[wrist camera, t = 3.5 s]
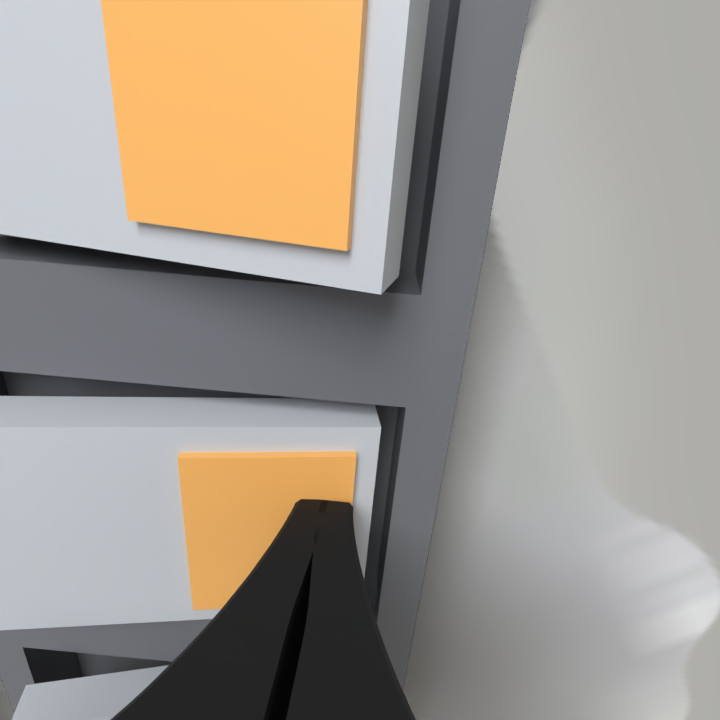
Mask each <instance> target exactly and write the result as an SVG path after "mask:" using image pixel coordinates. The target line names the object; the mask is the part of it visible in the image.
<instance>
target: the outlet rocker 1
mask: <svg viewBox="0 0 720 720" xmlns="http://www.w3.org/2000/svg"><path fill="white" fill-rule="evenodd" d="M168 666H169V665H166V666H159V667H152V668H145V669H138V670H131V671H124V672H116V673H109V674H102V675H95V676H88V677H81V678H74V679H66V680H59V681H52V682H45V683H38V684H31V685H26V686H25V689H24V691H23V694H22V696H21V698H20V701H19V703H18V706H17V708H16V710H15V713H14V715H13V718H12V720H111V719H112V718H113V717H114V716H115V715H116V714H117V713H119V712H120V711H121V710H122V709H123V708H124V707H125V706H127V705H128V704H129V703H130V702H131V701H132V700H133V699H134V698H135V697H137V696H138V695H139V694H140V693H141V692H142V691H143V690H144V689H145V688H146V687H147V686H148V685H149V684H150V683H151V682H152V681H154V680H155V679H156V678H157V677H158V676H159V675H160V674H161V673H162V672H163V671H164V670H165V669H166V668H167V667H168Z"/></svg>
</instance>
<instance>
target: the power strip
mask: <svg viewBox="0 0 720 720" xmlns="http://www.w3.org/2000/svg"><path fill="white" fill-rule="evenodd" d="M529 4H530V0H430V3H429V12H428V20H427V29H426V38H425V47H424V56H423V65H422V74H421V83H420V92H419V101H418V109H417V118H416V127H415V136H414V145H413V154H412V163H411V172H410V181H409V189H408V198H407V207H406V216H405V225H404V234H403V243H402V252H401V261H400V269H399V276H398V278H397V279H396V280H395V281H394V282H393V283H392V284H391V285H390V286H389V287H388V288H387V289H386V290H385V291H384V292H383V293H382V294H381V295H380V294H374V293H367V292H361V291H355V290H349V289H342V288H336V287H330V286H324V285H317V284H311V283H305V282H299V281H292V280H286V279H280V278H274V277H267V276H261V275H255V274H248V273H242V272H236V271H230V270H223V269H217V268H211V267H205V266H198V265H192V264H186V263H180V262H173V261H167V260H161V259H155V258H148V257H142V256H136V255H129V254H123V253H117V252H111V251H104V250H98V249H92V248H86V247H79V246H73V245H67V244H61V243H54V242H48V241H42V240H36V239H29V238H23V237H17V236H10V235H4V234H0V396H76V397H195V398H306V399H318V400H329V401H340V402H351V403H362V404H373V405H375V407H376V411H377V414H378V418H379V421H380V425H381V434H380V443H379V452H378V461H377V470H376V479H375V488H374V496H373V505H372V514H371V523H370V532H369V541H368V550H367V559H366V568H365V577H364V581H365V585H366V589H367V593H368V596H369V600H370V603H371V606H372V610H373V613H374V616H375V619H376V622H377V625H378V628H379V631H380V634H381V637H382V640H383V642H384V645H385V648H386V651H387V653H388V656H389V658H390V661H391V663H392V666H393V669H394V671H395V674H396V676H397V679H398V681H399V683H400V686H401V688H402V690H403V687H404V682H405V676H406V671H407V666H408V660H409V655H410V649H411V644H412V639H413V633H414V628H415V622H416V617H417V611H418V606H419V601H420V595H421V590H422V584H423V579H424V573H425V568H426V563H427V557H428V552H429V546H430V541H431V536H432V530H433V525H434V519H435V514H436V508H437V503H438V498H439V492H440V487H441V481H442V476H443V470H444V465H445V460H446V454H447V449H448V443H449V438H450V432H451V427H452V422H453V416H454V411H455V405H456V400H457V395H458V389H459V384H460V378H461V373H462V367H463V362H464V357H465V351H466V346H467V340H468V335H469V329H470V324H471V319H472V313H473V308H474V302H475V297H476V292H477V286H478V281H479V275H480V270H481V264H482V259H483V254H484V248H485V243H486V237H487V232H488V226H489V221H490V216H491V210H492V205H493V199H494V194H495V188H496V183H497V177H498V172H499V166H500V161H501V156H502V151H503V145H504V140H505V134H506V129H507V123H508V118H509V113H510V107H511V102H512V96H513V91H514V85H515V80H516V75H517V69H518V64H519V58H520V53H521V48H522V42H523V37H524V31H525V26H526V20H527V15H528V10H529ZM211 620H212V619H201V620H183V621H164V622H146V623H127V624H109V625H91V626H72V627H54V628H35V629H17V630H0V677H1V680H2V682H3V685H4V687H5V690H6V693H7V695H8V698H9V701H10V703H11V706H12V709H13V711H14V713H15V710H16V708H17V706H18V703H19V701H20V698H21V696H22V694H23V691H24V689H25V686H26V685H31V684H38V683H45V682H52V681H59V680H66V679H74V678H81V677H88V676H95V675H102V674H109V673H116V672H124V671H131V670H138V669H145V668H152V667H159V666H166V665H170V664H171V663H172V662H173V661H174V660H175V659H176V658H177V657H178V656H179V655H180V654H181V653H182V652H183V651H184V650H185V649H186V648H187V646H188V645H189V644H190V643H191V642H192V641H193V640H194V639H195V638H196V637H197V636H198V635H199V634H200V632H201V631H202V630H203V629H204V628H205V627H206V626H207V625H208V624H209V623H210V621H211Z"/></svg>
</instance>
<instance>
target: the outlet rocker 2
mask: <svg viewBox="0 0 720 720" xmlns="http://www.w3.org/2000/svg"><path fill="white" fill-rule="evenodd" d="M380 434H381V425H380V421H379V418H378V414H377V411H376V407H375V405H373V404H362V403H351V402H340V401H329V400H318V399H306V398H195V397H76V396H0V630H17V629H35V628H54V627H72V626H91V625H109V624H127V623H146V622H164V621H183V620H201V619H213V618H214V617H215V616H216V615H217V613H218V612H219V611H220V610H221V609H222V608H223V606H224V605H225V604H226V603H227V601H228V600H229V599H230V598H231V596H232V595H233V594H234V593H235V591H236V590H237V589H238V588H239V586H240V585H241V584H242V583H243V582H244V580H245V579H246V578H247V577H248V575H249V574H250V573H251V571H252V570H253V569H254V567H255V566H256V564H257V563H258V562H259V560H260V559H261V557H262V556H263V555H264V553H265V552H266V550H267V549H268V547H269V546H270V545H271V543H272V542H273V540H274V539H275V537H276V536H277V534H278V532H279V531H280V529H281V528H282V526H283V525H284V523H285V521H286V520H287V518H288V516H289V514H290V513H291V511H292V509H293V507H294V505H295V503H296V502H297V501H299V500H300V499H320V500H330V501H339V502H348V503H350V504H351V505H352V506H353V507H354V508H353V523H354V532H355V540H356V545H357V551H358V556H359V561H360V565H361V569H362V573H363V577H365V568H366V559H367V550H368V541H369V532H370V523H371V514H372V505H373V496H374V488H375V479H376V470H377V461H378V452H379V443H380Z"/></svg>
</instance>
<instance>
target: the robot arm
mask: <svg viewBox="0 0 720 720" xmlns="http://www.w3.org/2000/svg"><path fill="white" fill-rule="evenodd" d="M353 508H354V507H353V506H352V505H351V504H350V503H348V502H339V501H330V500H320V499H300V500H299V501H297V502H296V503H295V505H294V507H293V509H292V511H291V513H290V514H289V516H288V518H287V520H286V521H285V523H284V525H283V526H282V528H281V529H280V531H279V532H278V534H277V536H276V537H275V539H274V540H273V542H272V543H271V545H270V546H269V547H268V549H267V550H266V552H265V553H264V555H263V556H262V557H261V559H260V560H259V562H258V563H257V564H256V566H255V567H254V569H253V570H252V571H251V573H250V574H249V575H248V577H247V578H246V579H245V580H244V582H243V583H242V584H241V585H240V586H239V588H238V589H237V590H236V591H235V593H234V594H233V595H232V596H231V598H230V599H229V600H228V601H227V603H226V604H225V605H224V606H223V608H222V609H221V610H220V611H219V612H218V613H217V615H216V616H215V617H214V618H213V619H212V620H211V621H210V623H209V624H208V625H207V626H206V627H205V628H204V629H203V630H202V631H201V632H200V634H199V635H198V636H197V637H196V638H195V639H194V640H193V641H192V642H191V643H190V644H189V645H188V646H187V648H186V649H185V650H184V651H183V652H182V653H181V654H180V655H179V656H178V657H177V658H176V659H175V660H174V661H173V662H172V663H171V664H170V665H169V666H168V667H167V668H166V669H165V670H164V671H163V672H162V673H161V674H160V675H159V676H158V677H157V678H156V679H155V680H154V681H152V682H151V683H150V684H149V685H148V686H147V687H146V688H145V689H144V690H143V691H142V692H141V693H140V694H139V695H138V696H137V697H135V698H134V699H133V700H132V701H131V702H130V703H129V704H128V705H127V706H125V707H124V708H123V709H122V710H121V711H120V712H119V713H117V714H116V715H115V716H114V717H113V718H112V719H111V720H416V719H415V717H414V715H413V713H412V711H411V709H410V707H409V704H408V702H407V700H406V697H405V695H404V693H403V690H402V688H401V686H400V683H399V681H398V679H397V676H396V674H395V671H394V669H393V666H392V663H391V661H390V658H389V656H388V653H387V651H386V648H385V645H384V642H383V640H382V637H381V634H380V631H379V628H378V625H377V622H376V619H375V616H374V613H373V610H372V606H371V603H370V600H369V596H368V593H367V589H366V585H365V581H364V577H363V573H362V569H361V565H360V561H359V556H358V551H357V545H356V540H355V532H354V523H353Z"/></svg>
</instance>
